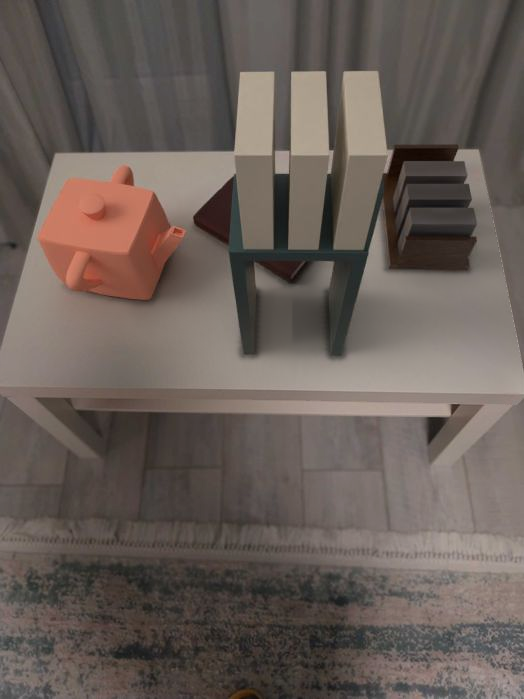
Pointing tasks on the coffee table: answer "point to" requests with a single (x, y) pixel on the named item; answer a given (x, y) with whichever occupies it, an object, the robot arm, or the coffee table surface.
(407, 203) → the brown rack
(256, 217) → the beige rectangular block
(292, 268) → the book
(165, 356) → the coffee table surface
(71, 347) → the coffee table surface
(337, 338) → the teal stand with panels
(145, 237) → the teapot
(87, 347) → the coffee table surface
